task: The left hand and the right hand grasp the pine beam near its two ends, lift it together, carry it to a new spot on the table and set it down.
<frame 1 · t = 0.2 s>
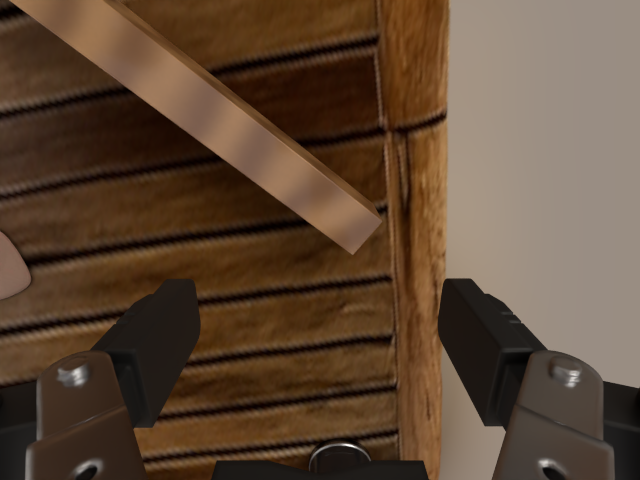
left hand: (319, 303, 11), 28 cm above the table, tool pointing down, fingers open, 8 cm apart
beam: (162, 64, 34), on the table
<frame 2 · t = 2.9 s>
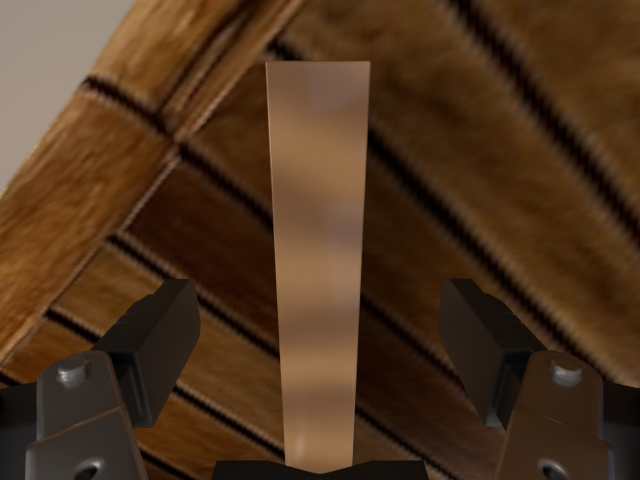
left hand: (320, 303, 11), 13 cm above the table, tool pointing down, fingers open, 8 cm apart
beam: (319, 403, 30), on the table, touching right hand
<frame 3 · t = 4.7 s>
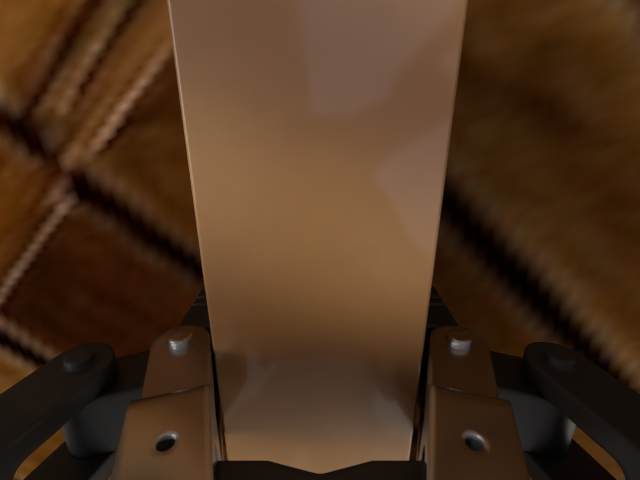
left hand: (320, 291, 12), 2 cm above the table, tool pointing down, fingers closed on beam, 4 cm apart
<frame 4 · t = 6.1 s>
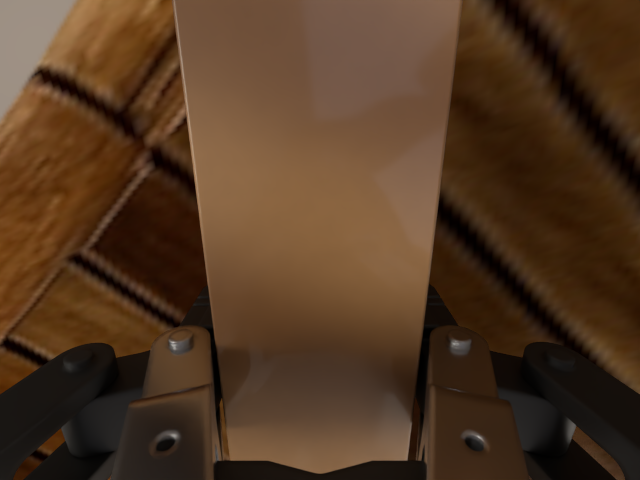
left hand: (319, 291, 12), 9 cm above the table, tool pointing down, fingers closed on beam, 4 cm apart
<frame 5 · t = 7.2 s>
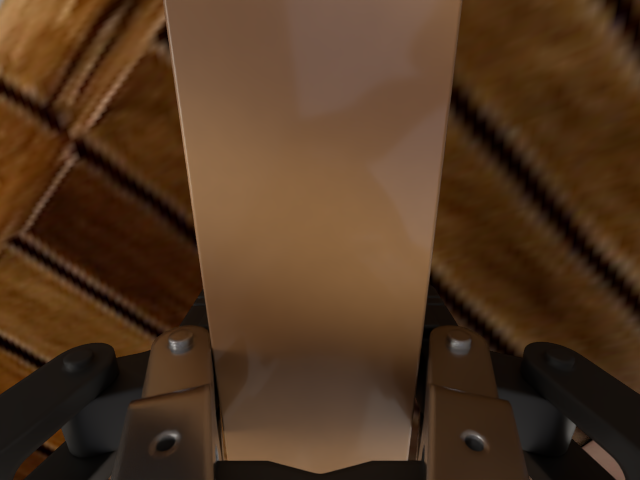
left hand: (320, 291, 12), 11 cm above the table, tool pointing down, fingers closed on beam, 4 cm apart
anatomical model: (615, 478, 31), on the table
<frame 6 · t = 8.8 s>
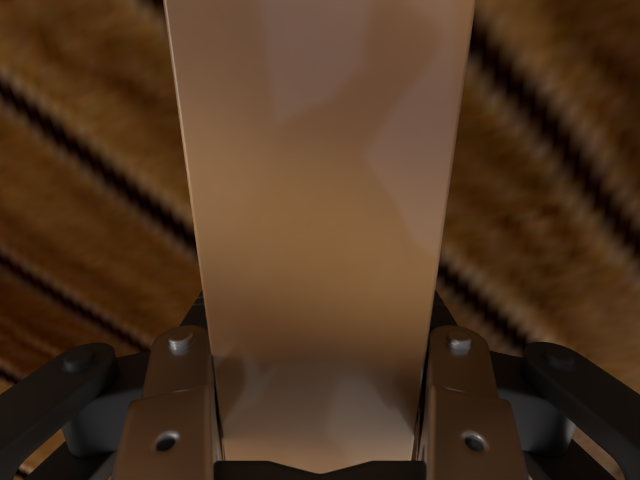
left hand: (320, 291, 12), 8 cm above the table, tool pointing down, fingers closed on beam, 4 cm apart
when the left hand's fingers open (3 cm above the table, at t = 9.7 s): beam drops 2 cm, on the table.
when the right hand's fingers open (4 cm above the table, at t = 9.7 s): beam drops 2 cm, on the table.
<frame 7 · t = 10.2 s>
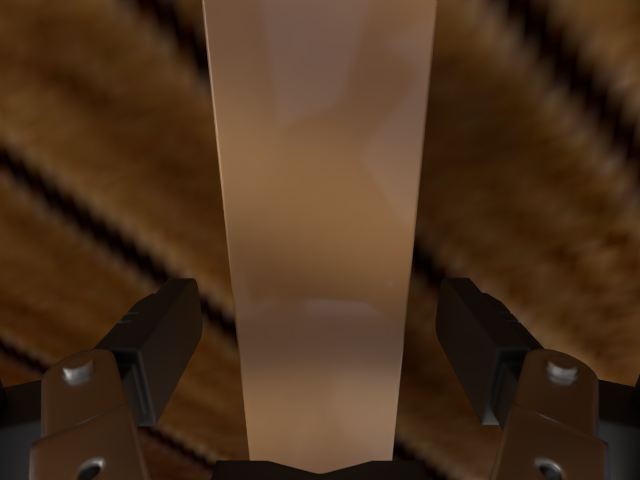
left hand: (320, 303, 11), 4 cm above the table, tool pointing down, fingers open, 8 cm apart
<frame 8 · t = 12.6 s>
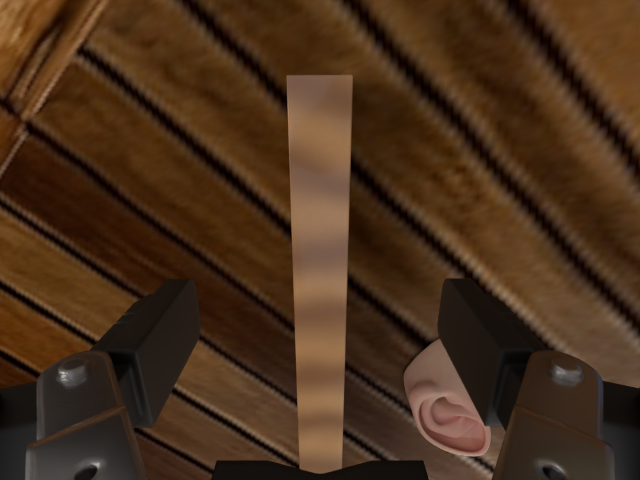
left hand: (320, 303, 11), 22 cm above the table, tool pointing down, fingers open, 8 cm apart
anatomical model: (448, 384, 41), on the table
beam: (320, 334, 38), on the table
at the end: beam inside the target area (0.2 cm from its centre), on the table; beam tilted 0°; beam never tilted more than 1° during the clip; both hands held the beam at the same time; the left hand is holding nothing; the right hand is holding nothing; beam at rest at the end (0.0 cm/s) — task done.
